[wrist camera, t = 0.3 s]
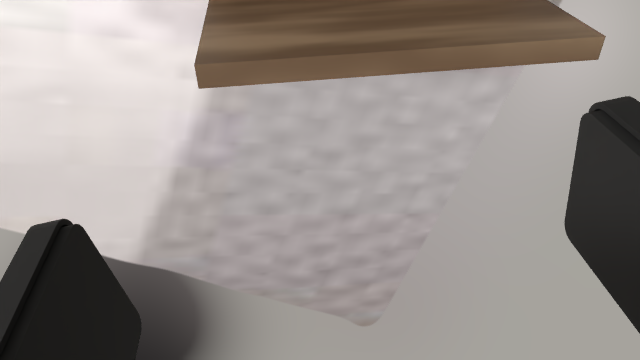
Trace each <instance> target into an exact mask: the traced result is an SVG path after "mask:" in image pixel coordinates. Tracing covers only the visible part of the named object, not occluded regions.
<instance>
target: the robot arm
mask: <svg viewBox="0 0 640 360" xmlns="http://www.w3.org/2000/svg"><path fill="white" fill-rule="evenodd" d="M565 230H566V234H567V236H568V238H569V240H570V241H571V243H572V244H573V245H574V247H575V248H576V249H577V250H578V252H579V253H580V255H581V256H582V257H583V259H584V260H585V261H586V263H587V264H588V265H589V267H590V268H591V269H592V271H593V272H594V273H595V275H596V276H597V277H598V278H599V280H600V281H601V283H602V284H603V285H604V287H605V288H606V289H607V290H608V292H609V293H610V294H611V296H612V297H613V299H614V300H615V301H616V303H617V304H618V305H619V307H620V308H621V309H622V311H623V312H624V313H625V314H626V316H627V317H628V319H629V320H630V321H631V323H632V324H633V325H634V326H635V328H636V329H637V331H638V332H639V333H640V102H639V101H637V100H636V99H634V98H632V97H629V96H628V97H621V98H617V99H612V100H607V101H602V102H598V103H595V104H593V105H592V106H591V108H590V109H589V113H586V114H584V115H583V116H582V118H581V121H580V127H579V134H578V140H577V146H576V153H575V159H574V165H573V171H572V178H571V184H570V191H569V197H568V203H567V210H566V216H565ZM140 335H141V319H140V316H139V313H138V312H137V310H136V308H135V307H134V305H133V304H132V302H131V301H130V299H129V298H128V296H127V295H126V293H125V291H124V290H123V288H122V287H121V285H120V284H119V282H118V281H117V279H116V278H115V276H114V275H113V273H112V271H111V270H110V268H109V267H108V265H107V264H106V262H105V261H104V259H103V258H102V256H101V254H100V253H99V251H98V250H97V248H96V247H95V245H94V244H93V242H92V241H91V239H90V237H89V236H88V234H87V233H86V231H85V230H84V228H83V227H82V226H80V225H79V224H74V225H73V224H72V222H71V221H69V220H67V219H60V220H56V221H51V222H46V223H42V224H37V225H34V226H32V227H30V229H29V230H28V231H27V233H26V235H25V237H24V239H23V241H22V242H21V244H20V246H19V248H18V250H17V252H16V254H15V255H14V257H13V259H12V261H11V263H10V265H9V267H8V268H7V270H6V272H5V274H4V276H3V278H2V280H1V282H0V360H135V358H136V353H137V349H138V343H139V339H140Z"/></svg>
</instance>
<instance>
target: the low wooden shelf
mask: <svg viewBox="0 0 640 360" xmlns="http://www.w3.org/2000/svg"><path fill="white" fill-rule="evenodd" d="M605 37H606V36H604V35H603V34H601V33H599V32H598V31H596V30H594V29H593V28H591V27H590V26H588V25H586V24H585V23H583V22H581V21H580V20H578V19H577V18H575V17H573V16H572V15H570V14H569V13H567V12H565V11H564V10H562V9H560V8H559V7H557V6H556V5H554V4H552V3H551V2H549V1H547V0H209V4H208V8H207V12H206V17H205V21H204V25H203V30H202V34H201V38H200V43H199V47H198V51H197V56H196V60H195V64H194V66H195V71H196V76H197V82H198V87H199V89H201V88H214V87H228V86H242V85H255V84H269V83H283V82H297V81H310V80H324V79H338V78H351V77H365V76H379V75H393V74H406V73H420V72H434V71H448V70H461V69H475V68H489V67H502V66H516V65H530V64H543V63H556V62H571V61H585V60H597V59H598V58H599V55H600V52H601V49H602V46H603V43H604V40H605Z"/></svg>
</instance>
